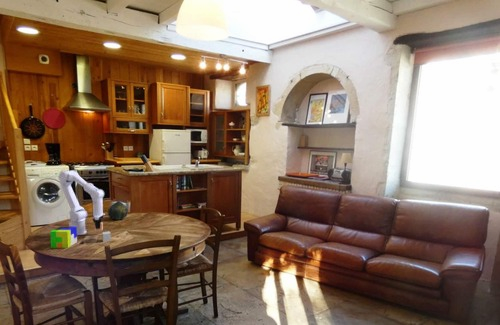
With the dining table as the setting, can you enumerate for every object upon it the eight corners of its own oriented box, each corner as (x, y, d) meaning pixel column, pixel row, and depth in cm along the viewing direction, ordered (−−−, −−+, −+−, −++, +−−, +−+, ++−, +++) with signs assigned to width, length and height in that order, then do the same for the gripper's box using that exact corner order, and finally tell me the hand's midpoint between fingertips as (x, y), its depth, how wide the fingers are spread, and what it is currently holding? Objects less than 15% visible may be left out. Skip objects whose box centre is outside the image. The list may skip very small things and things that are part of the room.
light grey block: (103, 242, 189) (103, 234, 189) (102, 240, 193) (101, 232, 192) (110, 240, 192) (110, 233, 191) (109, 238, 195) (109, 231, 195)
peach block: (94, 231, 199) (94, 224, 198) (95, 229, 203) (95, 222, 203) (101, 230, 200) (101, 223, 200) (102, 228, 205) (102, 221, 204)
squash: (108, 216, 229) (121, 200, 236) (101, 213, 240) (113, 197, 246) (123, 225, 238) (134, 209, 244) (115, 222, 248) (126, 207, 254)
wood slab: (83, 244, 186) (83, 239, 186) (86, 240, 193) (86, 235, 192) (96, 243, 188) (96, 238, 188) (98, 239, 195) (98, 234, 194)
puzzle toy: (77, 242, 189) (76, 226, 188) (68, 247, 179) (67, 231, 178) (61, 242, 189) (60, 226, 188) (51, 247, 179) (50, 231, 178)
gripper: (103, 210, 195) (103, 230, 196) (105, 205, 209) (106, 224, 210) (91, 210, 193) (91, 231, 194) (94, 205, 206) (95, 224, 207)
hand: (98, 227), depth 202 cm, fingers closed on peach block, 4 cm apart
